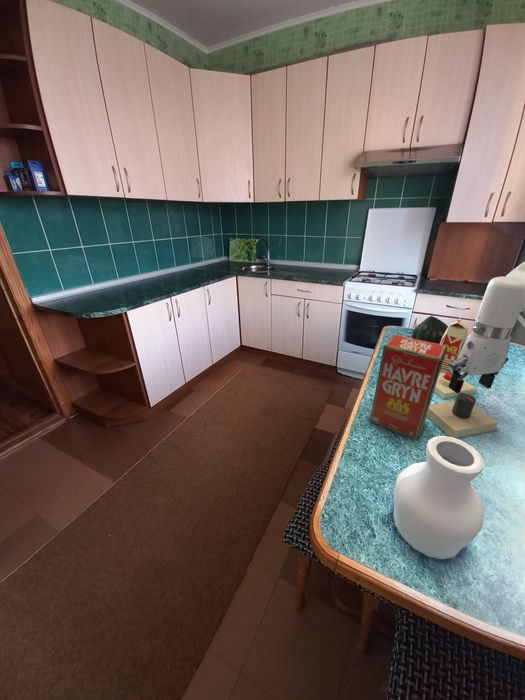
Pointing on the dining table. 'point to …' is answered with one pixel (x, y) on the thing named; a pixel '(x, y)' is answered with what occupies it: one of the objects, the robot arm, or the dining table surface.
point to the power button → (448, 376)
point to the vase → (440, 499)
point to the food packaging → (406, 384)
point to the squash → (430, 330)
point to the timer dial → (463, 405)
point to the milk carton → (453, 342)
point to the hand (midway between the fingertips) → (469, 387)
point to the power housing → (446, 392)
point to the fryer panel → (460, 420)
